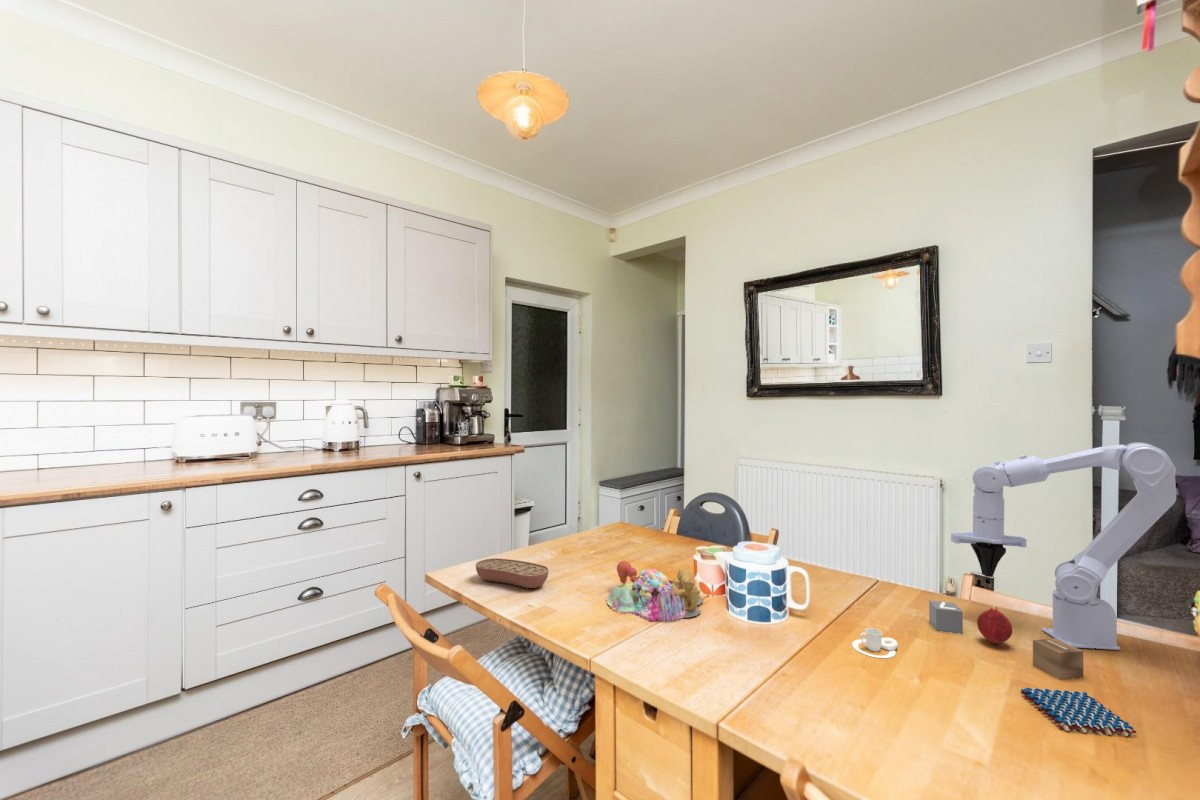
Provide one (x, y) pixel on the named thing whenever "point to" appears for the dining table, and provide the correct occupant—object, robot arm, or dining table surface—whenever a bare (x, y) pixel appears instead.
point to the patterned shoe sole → (512, 572)
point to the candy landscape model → (655, 594)
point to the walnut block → (1058, 658)
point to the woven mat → (1077, 712)
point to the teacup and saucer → (876, 643)
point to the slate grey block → (946, 617)
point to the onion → (994, 626)
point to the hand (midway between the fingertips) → (987, 575)
